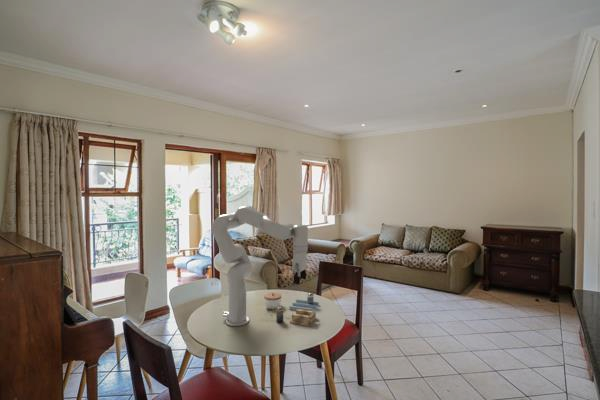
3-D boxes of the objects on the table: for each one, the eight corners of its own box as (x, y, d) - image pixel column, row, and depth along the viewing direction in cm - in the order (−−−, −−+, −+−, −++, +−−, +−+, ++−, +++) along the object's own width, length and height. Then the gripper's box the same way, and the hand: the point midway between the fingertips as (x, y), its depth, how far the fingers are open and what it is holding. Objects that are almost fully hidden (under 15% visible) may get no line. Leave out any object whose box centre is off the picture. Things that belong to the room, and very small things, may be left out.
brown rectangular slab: (295, 317, 164) (295, 316, 164) (297, 314, 168) (297, 313, 168) (307, 319, 161) (307, 318, 161) (309, 316, 166) (309, 314, 166)
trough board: (288, 311, 179) (288, 306, 179) (295, 303, 191) (295, 299, 191) (313, 314, 173) (313, 309, 173) (319, 306, 186) (319, 302, 186)
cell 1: (275, 322, 163) (275, 307, 162) (278, 319, 166) (278, 305, 166) (281, 323, 161) (281, 308, 161) (284, 320, 165) (284, 306, 165)
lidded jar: (283, 305, 188) (283, 290, 188) (279, 311, 177) (279, 296, 177) (266, 304, 190) (266, 289, 190) (261, 310, 179) (261, 295, 179)
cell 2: (306, 306, 183) (306, 293, 183) (308, 304, 186) (308, 291, 186) (312, 307, 182) (312, 294, 181) (314, 305, 185) (314, 292, 185)
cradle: (289, 323, 162) (289, 314, 162) (296, 316, 171) (296, 308, 171) (310, 326, 158) (310, 318, 158) (316, 319, 167) (316, 311, 167)
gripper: (299, 245, 164) (298, 276, 164) (287, 250, 147) (286, 285, 148) (312, 246, 161) (311, 277, 161) (301, 252, 145) (301, 286, 145)
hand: (299, 281), depth 155 cm, fingers open, 9 cm apart
